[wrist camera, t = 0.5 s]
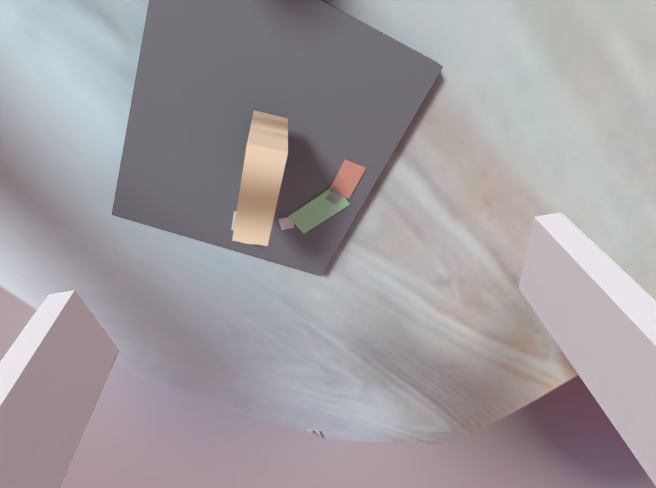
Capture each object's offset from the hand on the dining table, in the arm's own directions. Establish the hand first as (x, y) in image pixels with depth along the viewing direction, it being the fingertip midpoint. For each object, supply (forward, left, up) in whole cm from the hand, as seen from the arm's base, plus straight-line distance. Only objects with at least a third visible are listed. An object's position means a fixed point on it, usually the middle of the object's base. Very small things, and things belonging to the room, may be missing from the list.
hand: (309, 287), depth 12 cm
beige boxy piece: (0, -8, -21) cm, 23 cm away
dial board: (-1, -5, -23) cm, 24 cm away
